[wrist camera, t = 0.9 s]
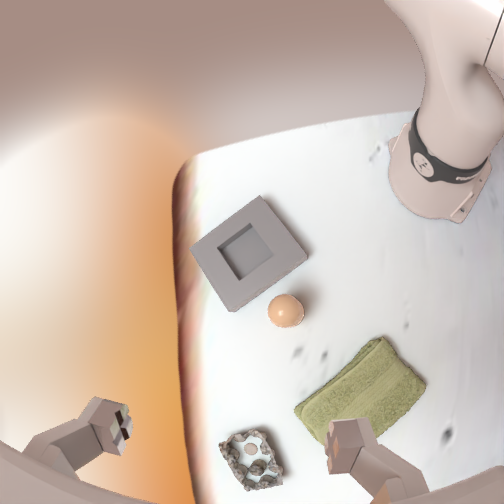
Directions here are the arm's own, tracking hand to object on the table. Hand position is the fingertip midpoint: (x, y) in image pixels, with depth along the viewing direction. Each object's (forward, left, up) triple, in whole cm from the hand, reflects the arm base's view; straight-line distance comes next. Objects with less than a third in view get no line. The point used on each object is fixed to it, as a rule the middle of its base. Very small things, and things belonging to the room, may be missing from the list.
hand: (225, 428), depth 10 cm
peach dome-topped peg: (-2, -6, -35) cm, 35 cm away
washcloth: (-3, +12, -35) cm, 37 cm away
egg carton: (+16, +11, -35) cm, 40 cm away
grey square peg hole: (-2, -17, -35) cm, 38 cm away
